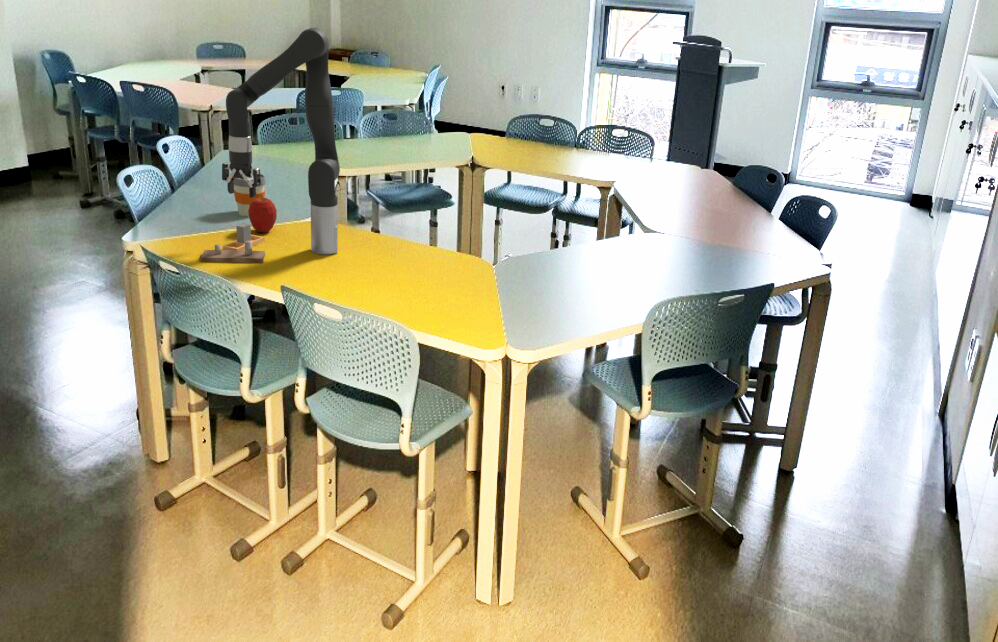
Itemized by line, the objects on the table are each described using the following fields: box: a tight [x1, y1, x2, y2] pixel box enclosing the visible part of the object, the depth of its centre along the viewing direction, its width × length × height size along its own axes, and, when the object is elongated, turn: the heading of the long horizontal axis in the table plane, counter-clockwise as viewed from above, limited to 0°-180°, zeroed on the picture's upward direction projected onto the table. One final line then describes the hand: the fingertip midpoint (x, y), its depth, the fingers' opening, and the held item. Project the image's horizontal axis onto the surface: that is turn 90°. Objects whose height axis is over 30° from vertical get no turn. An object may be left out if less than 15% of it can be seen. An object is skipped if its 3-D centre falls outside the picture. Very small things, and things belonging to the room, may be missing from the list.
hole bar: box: [222, 222, 266, 251], centre depth 300 cm, size 16×6×8 cm, turn 159°
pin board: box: [200, 241, 266, 264], centre depth 287 cm, size 20×8×6 cm, turn 100°
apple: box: [248, 196, 277, 234], centre depth 315 cm, size 10×10×14 cm
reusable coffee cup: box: [233, 173, 267, 217], centre depth 335 cm, size 13×13×15 cm
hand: (241, 195), depth 294 cm, fingers open, 8 cm apart
